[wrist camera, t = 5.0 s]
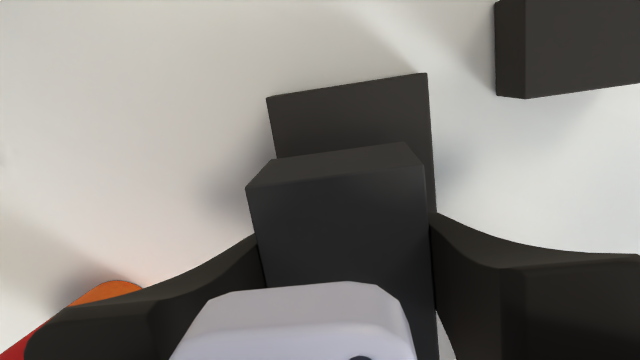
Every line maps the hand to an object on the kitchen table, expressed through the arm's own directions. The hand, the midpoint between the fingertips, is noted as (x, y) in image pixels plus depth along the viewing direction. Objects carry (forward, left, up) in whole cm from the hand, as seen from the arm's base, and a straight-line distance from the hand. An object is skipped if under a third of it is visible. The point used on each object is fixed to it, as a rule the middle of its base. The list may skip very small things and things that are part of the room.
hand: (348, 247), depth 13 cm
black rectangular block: (0, 0, -1) cm, 1 cm away
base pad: (+1, 0, -8) cm, 9 cm away
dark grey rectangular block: (+6, -11, -8) cm, 15 cm away
